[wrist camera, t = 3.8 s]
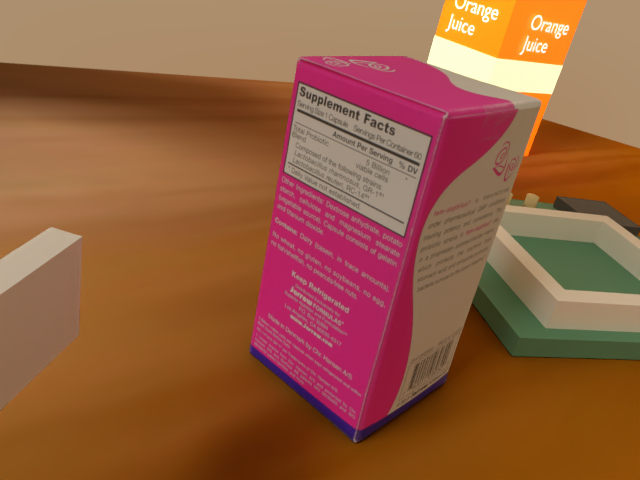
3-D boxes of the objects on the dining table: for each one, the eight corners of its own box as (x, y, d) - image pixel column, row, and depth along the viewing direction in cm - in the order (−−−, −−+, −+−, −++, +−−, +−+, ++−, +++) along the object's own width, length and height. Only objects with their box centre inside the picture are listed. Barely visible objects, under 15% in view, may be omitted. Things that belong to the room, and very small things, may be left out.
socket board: (396, 200, 40) (406, 165, 39) (595, 221, 45) (609, 190, 44) (511, 356, 27) (532, 309, 26) (781, 363, 31) (808, 324, 30)
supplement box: (339, 308, 27) (408, 51, 22) (447, 384, 24) (556, 103, 19) (240, 351, 23) (295, 47, 18) (353, 449, 20) (460, 113, 15)
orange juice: (408, 126, 58) (474, -111, 49) (471, 127, 63) (542, -88, 54) (465, 158, 52) (551, -102, 44) (529, 156, 57) (619, -78, 48)
